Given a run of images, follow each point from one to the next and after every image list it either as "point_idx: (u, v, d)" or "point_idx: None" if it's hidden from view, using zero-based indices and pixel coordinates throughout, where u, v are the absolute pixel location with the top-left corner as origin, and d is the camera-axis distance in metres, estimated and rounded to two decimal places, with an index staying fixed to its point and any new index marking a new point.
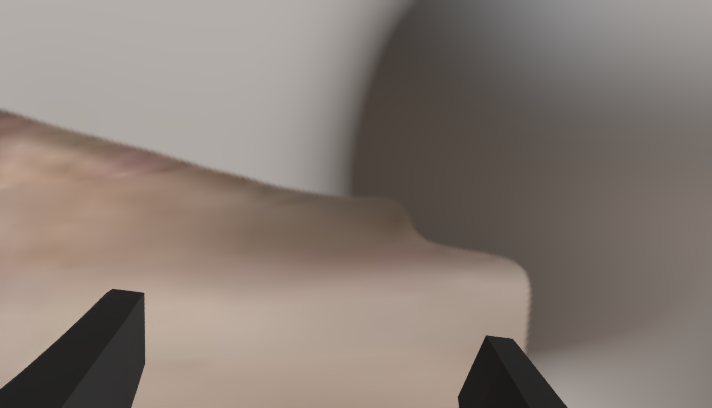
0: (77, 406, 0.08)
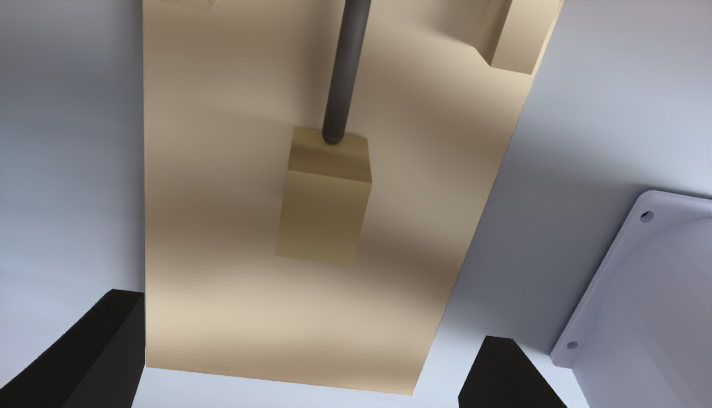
0: (77, 406, 0.08)
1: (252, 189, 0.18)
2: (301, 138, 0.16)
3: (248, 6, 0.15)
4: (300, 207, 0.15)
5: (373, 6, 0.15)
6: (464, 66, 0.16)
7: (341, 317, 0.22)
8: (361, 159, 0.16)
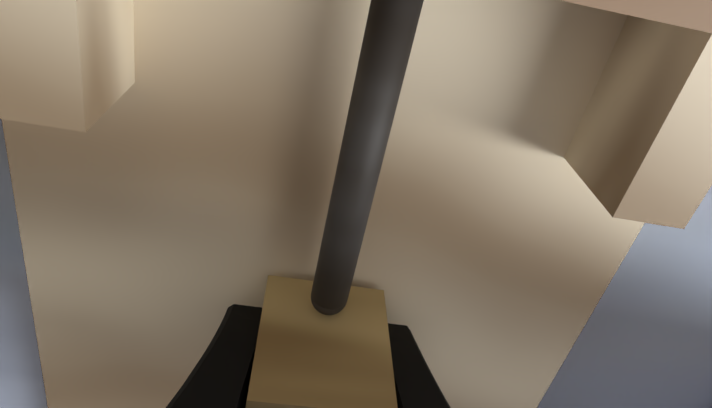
0: None
1: None
2: (277, 305, 0.10)
3: (182, 98, 0.09)
4: None
5: None
6: (545, 186, 0.10)
7: None
8: (376, 347, 0.10)
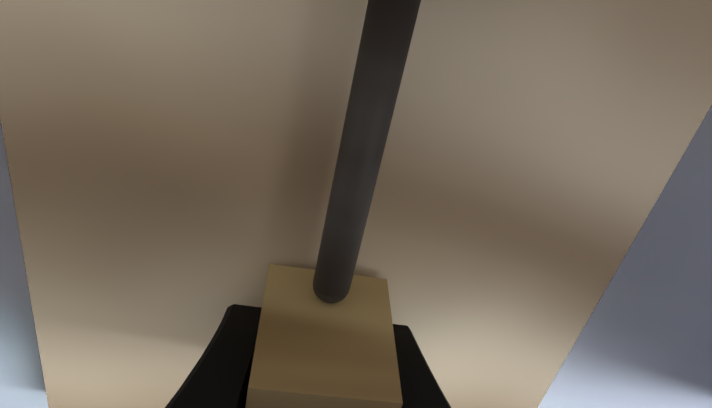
0: None
1: (224, 85, 0.09)
2: (279, 293, 0.10)
3: None
4: None
5: None
6: None
7: None
8: (380, 336, 0.09)
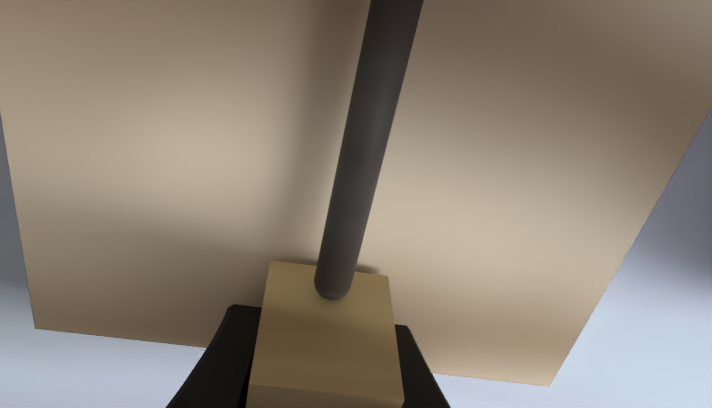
0: None
1: None
2: (280, 289, 0.10)
3: None
4: None
5: None
6: None
7: (437, 218, 0.10)
8: (381, 332, 0.09)
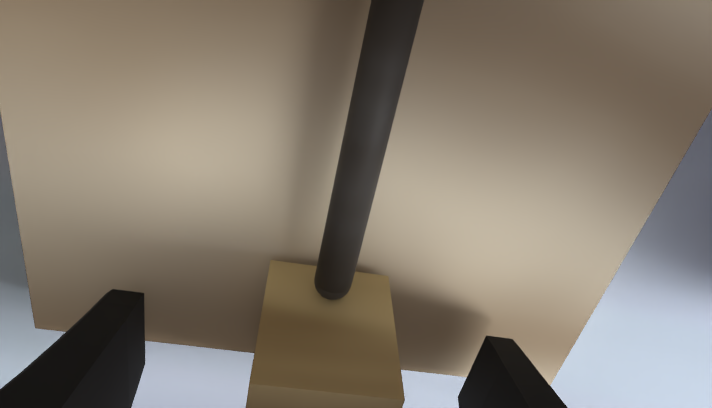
0: (77, 406, 0.08)
1: None
2: (280, 289, 0.10)
3: None
4: None
5: None
6: None
7: (437, 218, 0.10)
8: (381, 332, 0.09)
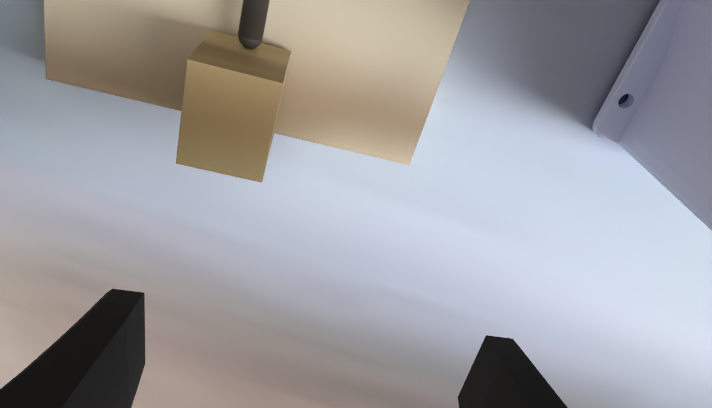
0: (77, 406, 0.08)
1: None
2: (215, 39, 0.15)
3: None
4: (203, 107, 0.14)
5: None
6: None
7: (323, 8, 0.16)
8: (278, 64, 0.15)
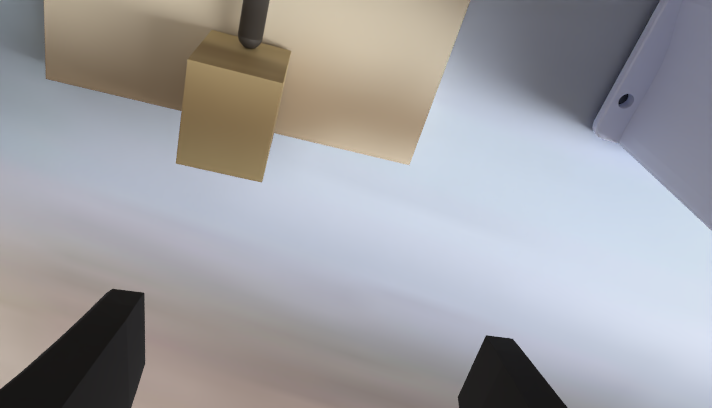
0: (77, 406, 0.08)
1: None
2: (215, 39, 0.15)
3: None
4: (203, 107, 0.14)
5: None
6: None
7: (323, 8, 0.16)
8: (278, 64, 0.15)
